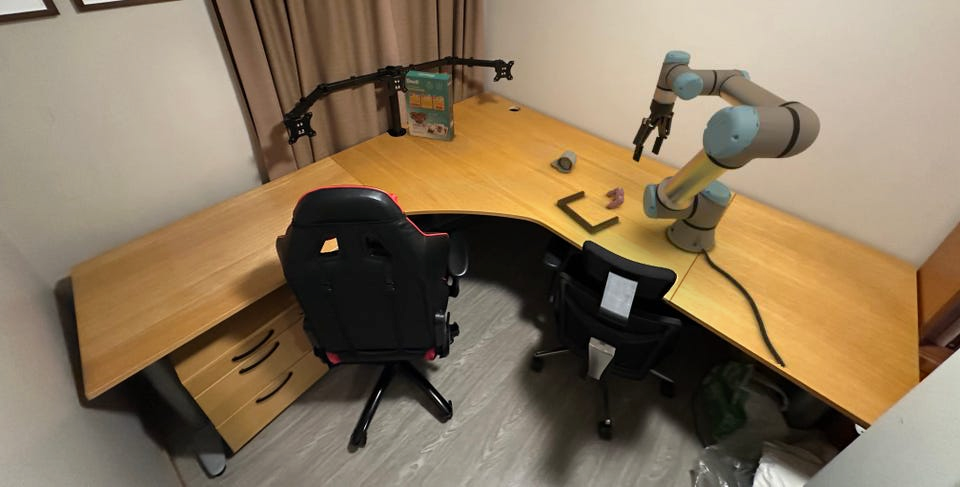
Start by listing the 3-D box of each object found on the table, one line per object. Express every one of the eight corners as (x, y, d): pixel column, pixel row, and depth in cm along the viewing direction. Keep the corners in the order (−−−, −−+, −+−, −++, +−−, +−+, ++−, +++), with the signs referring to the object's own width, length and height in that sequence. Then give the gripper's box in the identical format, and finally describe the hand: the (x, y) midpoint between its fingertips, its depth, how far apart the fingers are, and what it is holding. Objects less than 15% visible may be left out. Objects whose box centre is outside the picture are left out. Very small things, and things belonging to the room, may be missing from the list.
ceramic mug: (577, 165, 180) (579, 150, 175) (571, 174, 175) (573, 159, 170) (554, 160, 184) (556, 145, 179) (548, 168, 179) (550, 153, 173)
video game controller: (615, 213, 157) (627, 201, 153) (606, 207, 156) (618, 195, 152) (614, 198, 164) (626, 187, 160) (605, 193, 164) (616, 181, 159)
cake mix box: (454, 135, 202) (451, 75, 181) (450, 140, 197) (447, 79, 177) (414, 129, 206) (407, 70, 186) (410, 134, 202) (402, 74, 182)
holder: (617, 222, 150) (619, 217, 149) (591, 234, 145) (592, 229, 144) (581, 195, 163) (583, 190, 162) (556, 205, 158) (557, 200, 157)
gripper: (676, 89, 143) (657, 145, 159) (632, 102, 135) (617, 160, 150) (694, 97, 139) (673, 153, 154) (649, 110, 130) (631, 169, 145)
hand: (645, 156), depth 152 cm, fingers open, 10 cm apart
